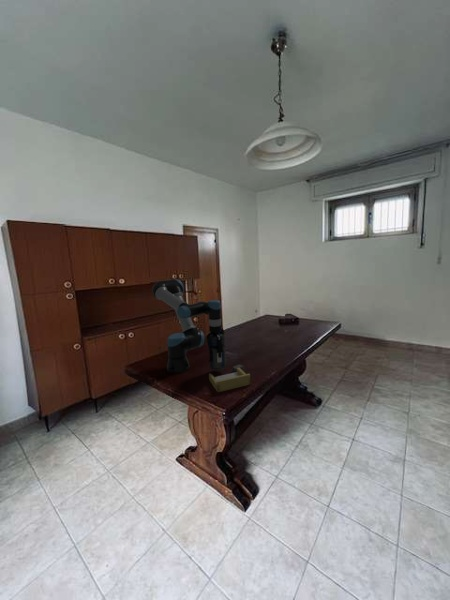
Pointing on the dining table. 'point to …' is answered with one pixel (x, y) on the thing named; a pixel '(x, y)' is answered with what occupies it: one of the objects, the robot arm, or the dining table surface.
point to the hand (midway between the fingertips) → (216, 358)
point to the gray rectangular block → (238, 367)
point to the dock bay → (230, 380)
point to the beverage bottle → (213, 349)
